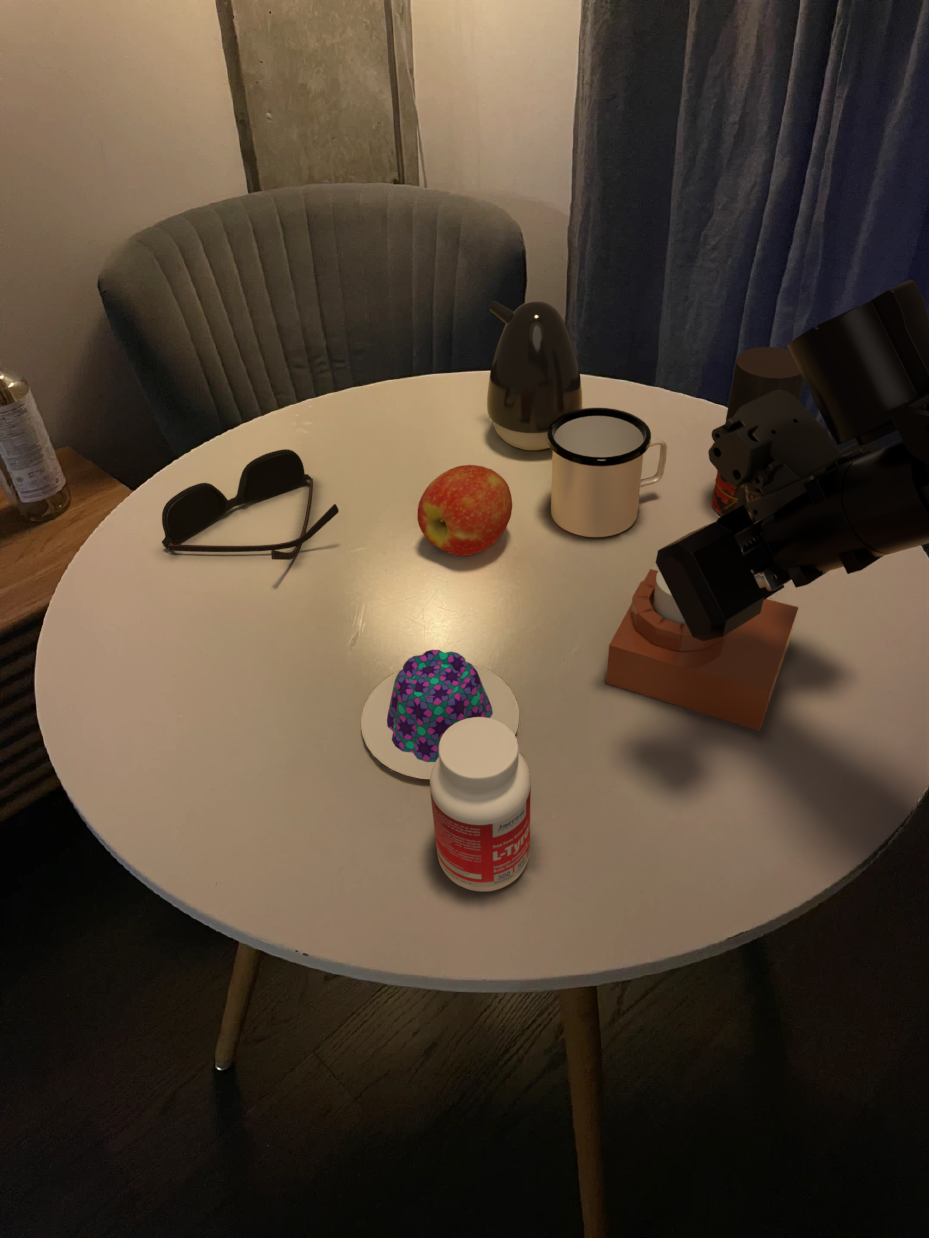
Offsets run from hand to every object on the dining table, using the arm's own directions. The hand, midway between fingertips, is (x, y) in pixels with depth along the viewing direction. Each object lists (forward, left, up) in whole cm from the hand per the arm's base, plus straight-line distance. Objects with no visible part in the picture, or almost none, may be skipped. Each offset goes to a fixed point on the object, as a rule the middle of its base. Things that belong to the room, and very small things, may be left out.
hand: (704, 564), depth 64 cm
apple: (+23, -8, -11) cm, 27 cm away
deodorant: (+1, -24, -11) cm, 26 cm away
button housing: (-1, -1, -10) cm, 11 cm away
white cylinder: (+1, -1, -5) cm, 5 cm away
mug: (+13, -18, -11) cm, 24 cm away
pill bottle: (+7, +22, -11) cm, 26 cm away
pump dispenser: (+25, -28, -11) cm, 39 cm away
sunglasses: (+41, -1, -11) cm, 43 cm away
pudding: (+15, +13, -11) cm, 23 cm away
